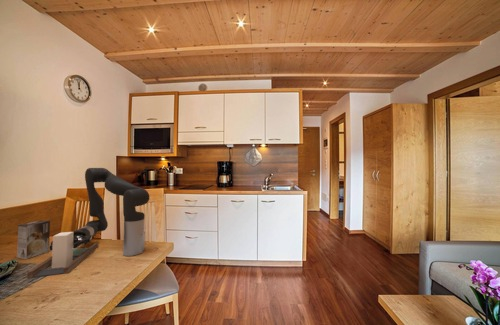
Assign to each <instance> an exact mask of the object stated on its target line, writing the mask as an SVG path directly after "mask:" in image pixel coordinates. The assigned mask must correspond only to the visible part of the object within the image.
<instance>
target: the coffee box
mask: <svg viewBox="0 0 500 325" xmlns="http://www.w3.org/2000/svg"><path fill="white" fill-rule="evenodd" d="M50 223H51V221H50V220H45V219H44V220H43V219H42V220H41V219H40V220H36V221H31V222H26V223H21V224H17V249H16V250H17V252H16V258H17V259H23V260H28V259H31V258H35V257H36V256H40V255H43V254H45V253H48V252H50V233H51V232H50V230H51V224H50Z"/></svg>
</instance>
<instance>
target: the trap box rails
mask: <svg viewBox="0 0 500 325" xmlns="http://www.w3.org/2000/svg"><path fill="white" fill-rule="evenodd" d="M87 248H88V247H87ZM96 248H97V249H98V248H99V242H94V243H93V244H92V245H90V246H89V248H88V249H87V250H85V251H84V252H83V253H82V254H80V255H79V256H78V257H77V258H75V259H74V260H72V262H70V263H69V264H68V265H67V266H65V267H63V268H64V270H63V274H62V275H66V274H69V273H71V271H73V270H74V269H75V268H76V267H77V266H78V265H80V264H81V263H82V262H83V261H84V260H86V259H87V257H89V256H90V255H91V254H92V253H94V251H96V250H97V249H96ZM95 249H96V250H95ZM50 266H52V255H51V256H50V257H48V258H47V259H45V260H44V261H42V262H41V263H39V264H37V265H36V266H35V267H33V268H32V269H29V270H28V271H27V273H26V274H27V276H26V277H27V279H32V278H34V277H33V276H34V275H36V274H37V273H39V272H40V271H42V270H46V269H47V268H48V267H50Z"/></svg>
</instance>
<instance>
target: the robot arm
mask: <svg viewBox="0 0 500 325" xmlns="http://www.w3.org/2000/svg"><path fill="white" fill-rule="evenodd" d="M84 180H85V185H86V192H87V195H88V204H89V205H88V206H89V208H88V209H89V210H88V211H89V214H88V215H89V216H90V217H92V218H97V219H95V220H89V221H88V222H86V224H85V226H83V227H80V228H78V229H75V231H73V232H74V234H73V249H76V248H79V247H80V246H83V245H85V246H86V245H89V243H91V242H92V240H93V238H92V237H93V236H94V235H96V234H97V233H98V232H104V231H106V230H107V228H108V227H109V226H108V225H109V224H108V220H107V218H106V215H105V207H104V206H105V204H104V199H103V198H102V197H101V195H100V193H99V192H98V191H97V190H96V187H95V183H104V188H105V189H106V190H107V191H108V192H110V193H112V194H113V195H116V196H122V214H123V242H122V245H123V246H122V255H123V256H125V257H132V256H137V255H141V254H143V252H144V251H145V246H146V244H145V243H146V232H145V213H144V212H141V211H137V209H136V207H140V206H144V205H147V203H148V202H149V201H150V194H149V192H148V191H147V190H146V189H145V188H143V187H139V186H137V185H135V184H133V183H131V182H128V181H126V180H125V179H123V178H121V177H120V176H117V175H115V174H114V173H112V172H111V171H110V170H108V168H105V167H88V168H87V169H86V170H85V172H84ZM52 248H53V240H52V241H51V242H50V245H49V251H52Z"/></svg>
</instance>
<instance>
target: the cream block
mask: <svg viewBox="0 0 500 325" xmlns="http://www.w3.org/2000/svg"><path fill="white" fill-rule="evenodd" d="M73 234H74V231H65V232H59V233H56V234H55V235H53V236H52V241H53V248H52V250H51V251H52V252H51V256H52V264H51V269H57V268H64V267H65V266H67V265H68V264H69V263H70V262H72V261H73V260H72V259H73V249H74V248H73Z"/></svg>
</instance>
